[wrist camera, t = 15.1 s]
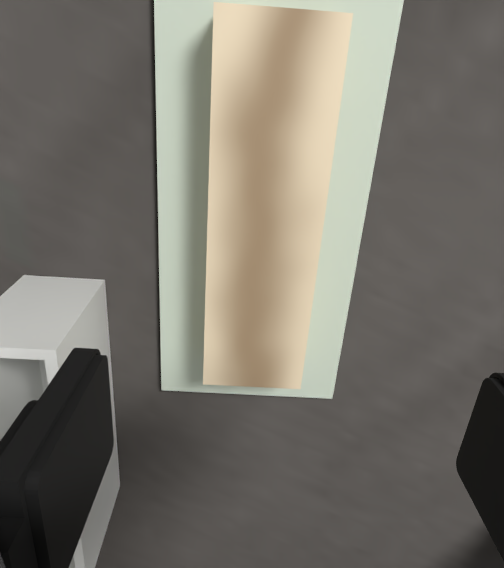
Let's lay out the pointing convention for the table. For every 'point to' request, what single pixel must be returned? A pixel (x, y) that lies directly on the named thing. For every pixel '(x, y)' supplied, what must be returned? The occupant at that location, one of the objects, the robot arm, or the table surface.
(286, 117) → the beige wooden block
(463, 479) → the robot arm
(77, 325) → the box
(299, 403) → the table surface
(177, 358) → the mat
